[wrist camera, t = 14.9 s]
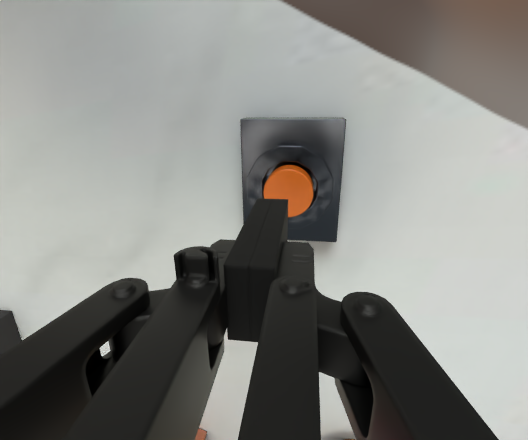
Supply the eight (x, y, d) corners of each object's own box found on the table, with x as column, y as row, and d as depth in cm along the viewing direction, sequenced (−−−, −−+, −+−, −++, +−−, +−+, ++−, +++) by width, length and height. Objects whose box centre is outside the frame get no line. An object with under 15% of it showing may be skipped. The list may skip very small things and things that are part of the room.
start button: (266, 164, 24) (263, 168, 23) (314, 165, 24) (314, 169, 22) (266, 209, 26) (263, 216, 24) (312, 210, 25) (312, 218, 23)
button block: (245, 117, 27) (234, 120, 23) (343, 117, 26) (348, 120, 22) (248, 228, 30) (239, 246, 27) (334, 232, 29) (338, 251, 26)
